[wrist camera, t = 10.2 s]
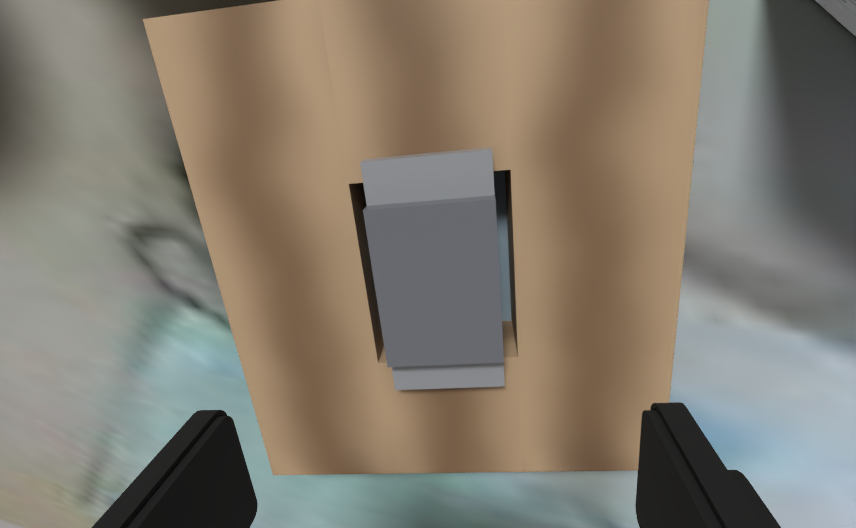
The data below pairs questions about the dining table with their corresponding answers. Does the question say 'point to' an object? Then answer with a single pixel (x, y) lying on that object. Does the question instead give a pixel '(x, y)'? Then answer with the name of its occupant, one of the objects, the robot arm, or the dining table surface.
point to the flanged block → (436, 267)
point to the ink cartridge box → (842, 12)
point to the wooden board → (515, 209)
